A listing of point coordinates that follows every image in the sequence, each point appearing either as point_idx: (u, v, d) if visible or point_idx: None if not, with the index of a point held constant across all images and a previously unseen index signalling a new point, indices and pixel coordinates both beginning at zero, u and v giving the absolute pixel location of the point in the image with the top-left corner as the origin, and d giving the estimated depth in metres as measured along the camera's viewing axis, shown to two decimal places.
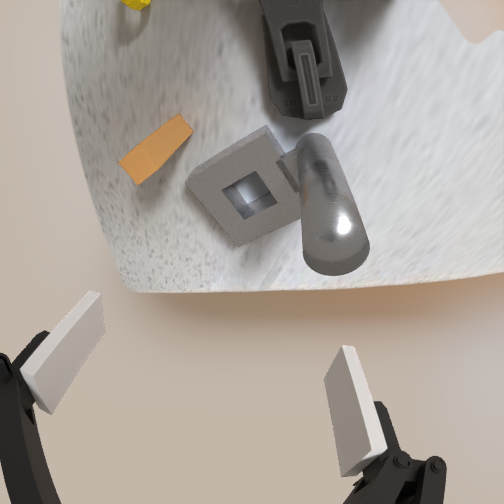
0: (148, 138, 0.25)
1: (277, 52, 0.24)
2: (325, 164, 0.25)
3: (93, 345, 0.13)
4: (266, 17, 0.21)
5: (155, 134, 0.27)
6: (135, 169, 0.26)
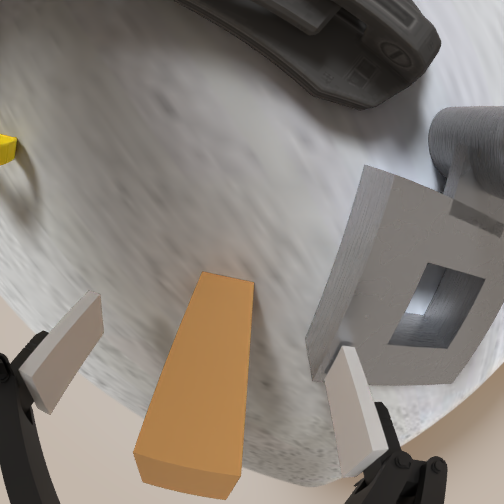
0: (156, 403, 0.08)
1: None
2: None
3: (92, 345, 0.13)
4: None
5: (171, 371, 0.10)
6: (188, 486, 0.07)
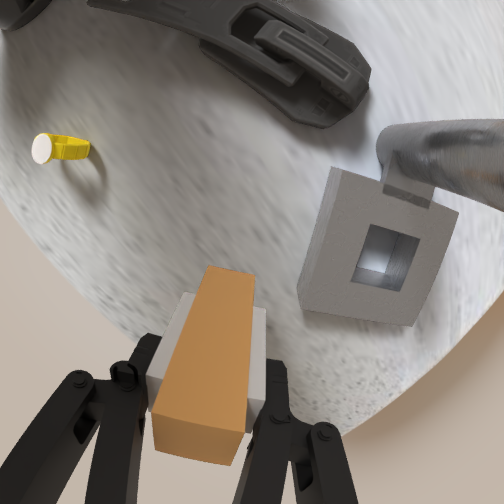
0: (171, 371, 0.10)
1: (253, 58, 0.17)
2: (446, 126, 0.12)
3: None
4: (203, 35, 0.16)
5: (183, 345, 0.12)
6: (197, 450, 0.09)
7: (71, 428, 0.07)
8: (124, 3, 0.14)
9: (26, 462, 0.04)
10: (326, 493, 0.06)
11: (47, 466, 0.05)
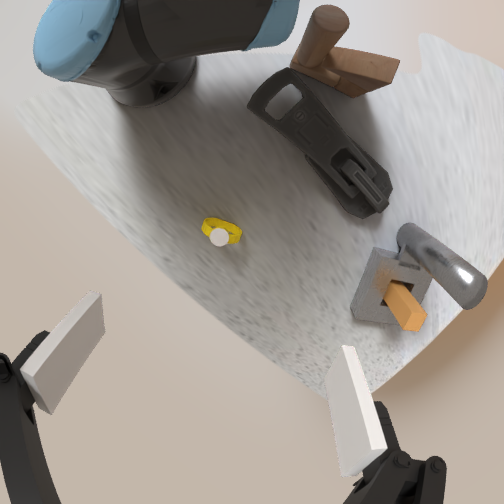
0: (407, 304, 0.38)
1: (338, 181, 0.37)
2: (431, 248, 0.34)
3: (93, 345, 0.13)
4: (316, 161, 0.36)
5: (404, 299, 0.40)
6: (414, 325, 0.37)
7: None
8: (275, 121, 0.33)
9: None
10: None
11: None
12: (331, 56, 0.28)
